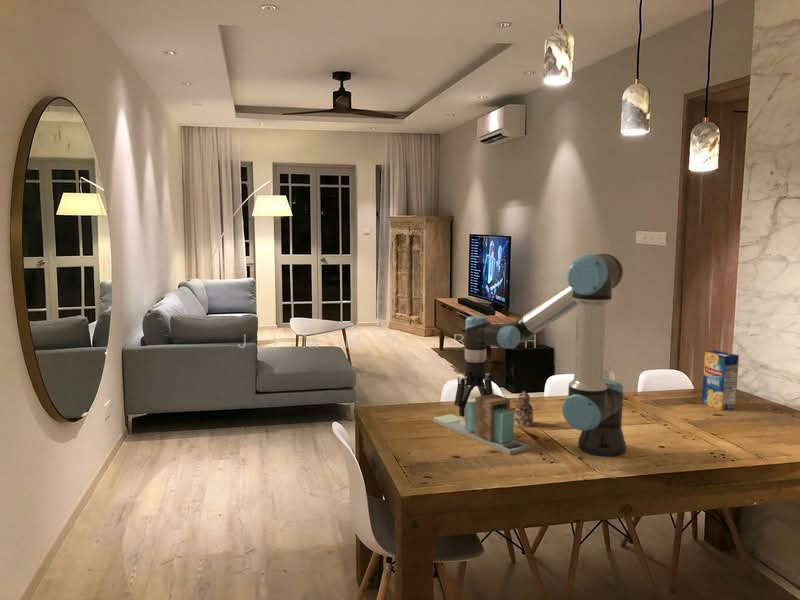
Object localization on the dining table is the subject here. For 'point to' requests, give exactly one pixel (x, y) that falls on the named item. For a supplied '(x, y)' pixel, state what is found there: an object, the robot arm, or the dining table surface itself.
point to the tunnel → (487, 414)
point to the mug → (475, 393)
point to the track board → (454, 424)
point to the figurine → (523, 411)
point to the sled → (494, 422)
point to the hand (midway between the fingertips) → (473, 422)
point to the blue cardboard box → (720, 379)
